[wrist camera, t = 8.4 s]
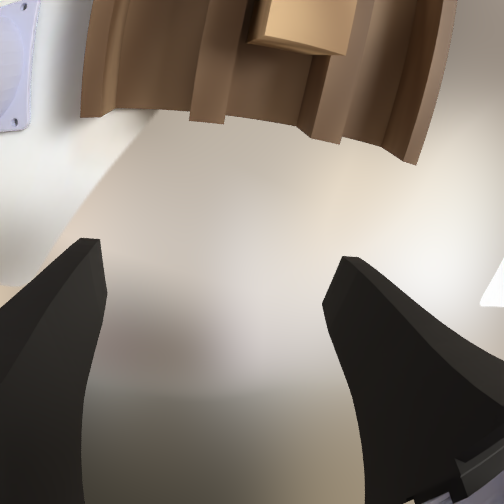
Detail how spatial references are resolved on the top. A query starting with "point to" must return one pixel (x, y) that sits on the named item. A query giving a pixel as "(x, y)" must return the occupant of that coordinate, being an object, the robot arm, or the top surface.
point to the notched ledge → (272, 69)
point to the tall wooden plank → (303, 25)
